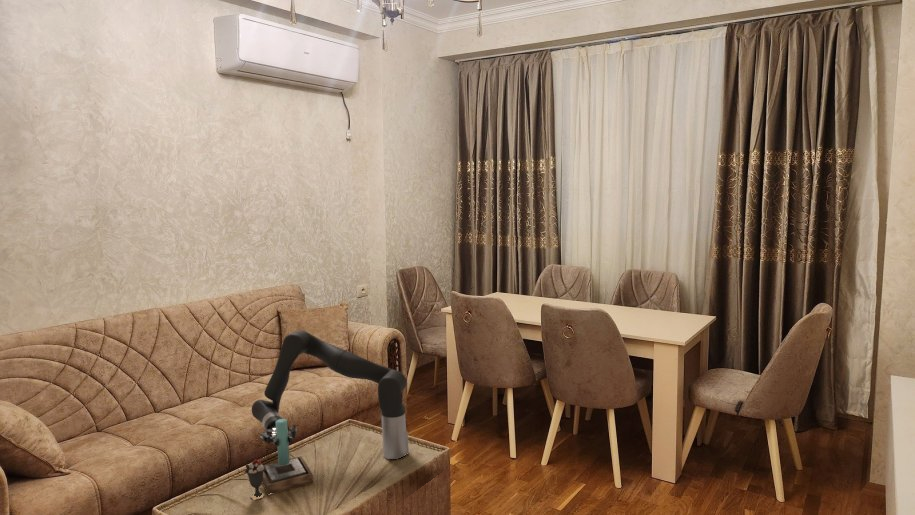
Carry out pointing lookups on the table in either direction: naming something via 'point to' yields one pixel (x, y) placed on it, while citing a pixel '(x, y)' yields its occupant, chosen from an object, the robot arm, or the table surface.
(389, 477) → the table surface
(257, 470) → the sundae
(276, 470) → the plate
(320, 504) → the table surface
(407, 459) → the table surface
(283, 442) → the peg
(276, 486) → the box
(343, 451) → the table surface
